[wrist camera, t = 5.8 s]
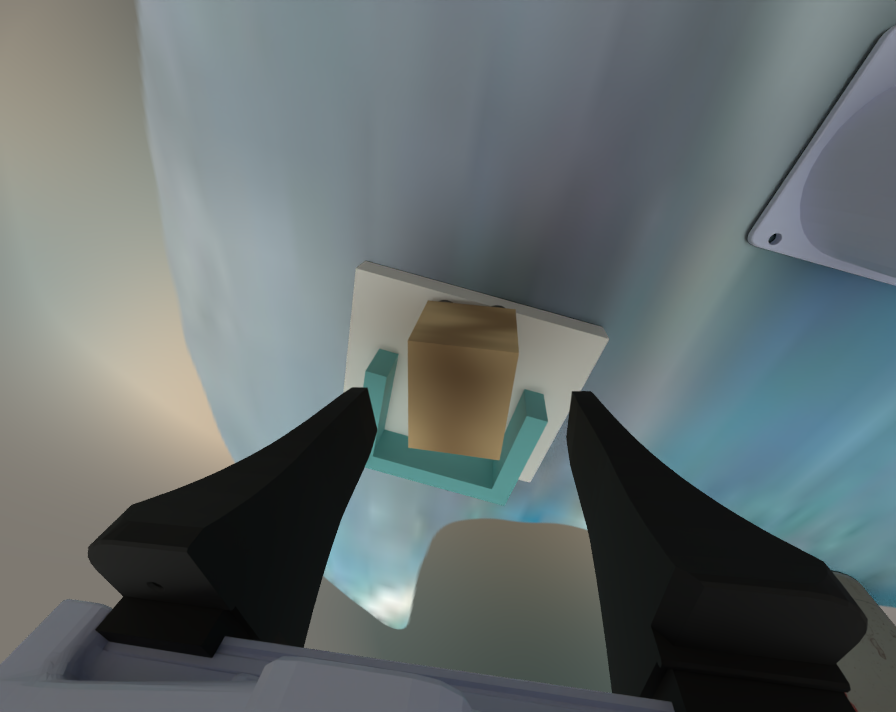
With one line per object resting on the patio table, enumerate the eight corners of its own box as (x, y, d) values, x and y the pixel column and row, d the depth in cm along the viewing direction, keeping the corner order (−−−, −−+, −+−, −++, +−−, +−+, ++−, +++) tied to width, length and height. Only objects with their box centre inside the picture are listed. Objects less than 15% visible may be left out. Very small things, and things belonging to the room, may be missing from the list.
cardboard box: (515, 303, 18) (519, 352, 14) (500, 395, 21) (499, 460, 17) (430, 295, 19) (407, 340, 14) (428, 386, 22) (408, 447, 17)
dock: (602, 327, 20) (623, 363, 17) (528, 466, 26) (532, 513, 23) (365, 260, 20) (336, 283, 16) (347, 416, 26) (324, 456, 23)
